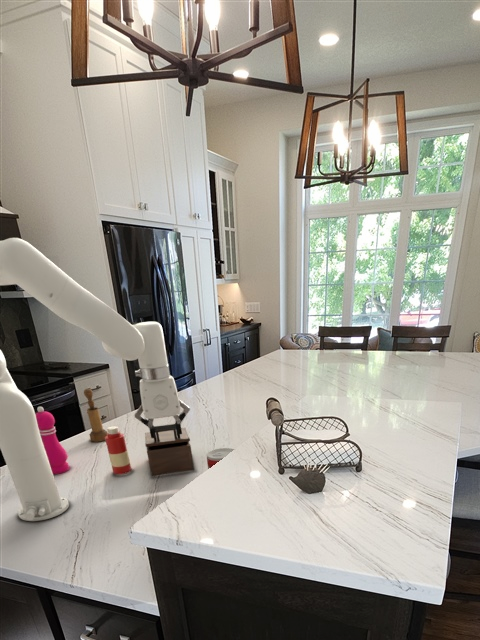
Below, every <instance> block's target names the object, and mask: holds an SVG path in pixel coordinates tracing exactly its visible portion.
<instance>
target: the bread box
mask: <svg viewBox="0 0 480 640" xmlns="http://www.w3.org/2000/svg"><path fill="white" fill-rule="evenodd" d="M146 454H147V459H148V464H149V469H150V475H151V477H153V476H160V475H168V474H175V473H181V472H188V471H194V470H195V466H194V465H195V464H194V459H193V453H192V445H191V442H190V441H186V442H179V443H172V444H164V445H157V446H149V447H146Z"/></svg>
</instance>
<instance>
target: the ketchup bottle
mask: <svg viewBox="0 0 480 640" xmlns="http://www.w3.org/2000/svg"><path fill="white" fill-rule="evenodd" d="M106 431H107V432H108V433H107V436H106V437H105V440H104V441H105V443H106V448H107V452H108V458H109V461H110V465H111V469H112V473H113V474H114V475H124V474H128V473H131V471H132V466H131V465H132V464H131V461H130V456H129V452H128V451H129V450H128V447H127V443H126V439H125V435H124V433H121V431H120V430H119V427H118V426H115V425H114V426H108V427H107V428H106Z"/></svg>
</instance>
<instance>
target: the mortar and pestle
mask: <svg viewBox="0 0 480 640" xmlns="http://www.w3.org/2000/svg"><path fill="white" fill-rule="evenodd" d="M83 395H84V396H85V398H86V399H87V405H88V407H89V408H87V409H86V412H87V415H88V420H89V423H90V428H91V431H90V433H89V434H88V435H89V438H90V439H89V440H90V441H91V442H95V443H96V442H97V443H98V442H103V441H106V440H105V437H106V436H107V433H108V430H107V429H106V430H105V429H104V425H103V423H102V417H101V414H100V410H99V407H95V401H94V400H93V395H94V391H93V390H92V389H91V388H85V389H84V390H83Z"/></svg>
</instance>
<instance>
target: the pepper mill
mask: <svg viewBox="0 0 480 640" xmlns="http://www.w3.org/2000/svg"><path fill="white" fill-rule="evenodd" d="M35 415H36V419H37V424H38V428H39V432H40V436H41V439H42V442H43V445H44V448H45V451H46V454H47V457H48V460H49V464H50V467H51V470H52V473H53V475H57V474H64V473H66V472H68V471H69V470H70V466H69V463H68V461H67V460H68V453H67V451H66V449H65V448H64V447H63V446H62V444H61V443H60V441H59V440H58V437H57V434H56V432H57V430H56V426H54V425H55V423H56V420H55V417H54V416H53V414H52V413H51V412H49V411H45V409H44V407H43V406H38V407H37V412H35Z"/></svg>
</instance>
